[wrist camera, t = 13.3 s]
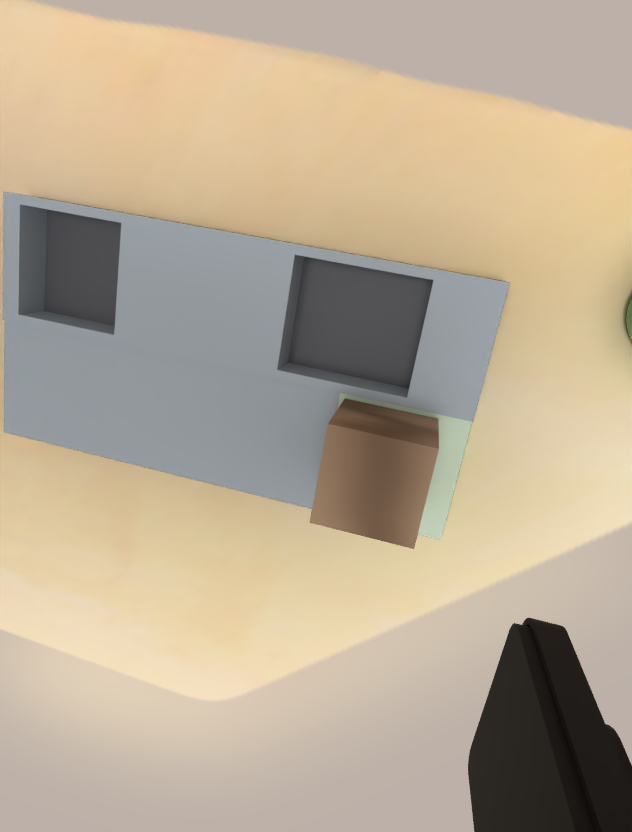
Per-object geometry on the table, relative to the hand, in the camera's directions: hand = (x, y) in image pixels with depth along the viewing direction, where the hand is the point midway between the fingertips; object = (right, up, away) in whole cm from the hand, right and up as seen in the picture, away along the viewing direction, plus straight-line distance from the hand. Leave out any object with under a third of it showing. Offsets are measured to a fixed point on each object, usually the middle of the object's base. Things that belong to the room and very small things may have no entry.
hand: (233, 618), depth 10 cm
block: (+5, +2, +21) cm, 21 cm away
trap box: (-3, +7, +23) cm, 24 cm away
